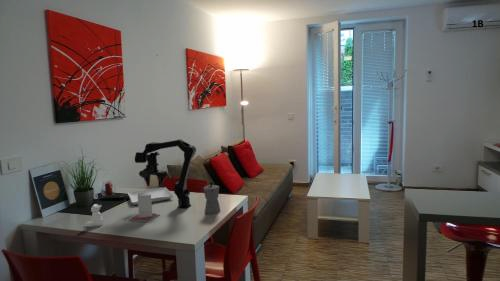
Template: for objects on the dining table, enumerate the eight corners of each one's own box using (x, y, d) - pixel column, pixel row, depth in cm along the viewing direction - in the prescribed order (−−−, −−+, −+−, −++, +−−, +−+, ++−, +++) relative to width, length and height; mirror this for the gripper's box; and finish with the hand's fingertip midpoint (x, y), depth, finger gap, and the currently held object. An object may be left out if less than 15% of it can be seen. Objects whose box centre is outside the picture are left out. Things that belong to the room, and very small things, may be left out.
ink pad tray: (159, 215, 205) (159, 213, 205) (145, 222, 195) (145, 220, 195) (143, 213, 211) (143, 211, 210) (129, 220, 200) (129, 217, 200)
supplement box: (152, 216, 200) (150, 194, 199) (139, 218, 198) (137, 196, 197) (152, 212, 207) (150, 191, 206) (139, 214, 205) (137, 193, 204)
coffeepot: (222, 214, 203) (220, 184, 201) (206, 216, 201) (204, 185, 199) (218, 206, 218) (216, 178, 216) (203, 208, 216) (201, 179, 214)
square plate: (127, 197, 250) (127, 192, 249) (165, 191, 261) (165, 186, 260) (131, 207, 225) (131, 201, 225) (174, 200, 237) (173, 195, 236)
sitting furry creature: (99, 221, 201) (97, 200, 199) (109, 223, 196) (107, 202, 195) (84, 226, 193) (82, 205, 191) (94, 229, 188) (92, 207, 187)
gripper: (131, 164, 216) (133, 188, 218) (155, 165, 208) (157, 191, 210) (144, 161, 226) (146, 184, 228) (167, 162, 218) (169, 186, 220)
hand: (154, 186), depth 222 cm, fingers open, 9 cm apart
